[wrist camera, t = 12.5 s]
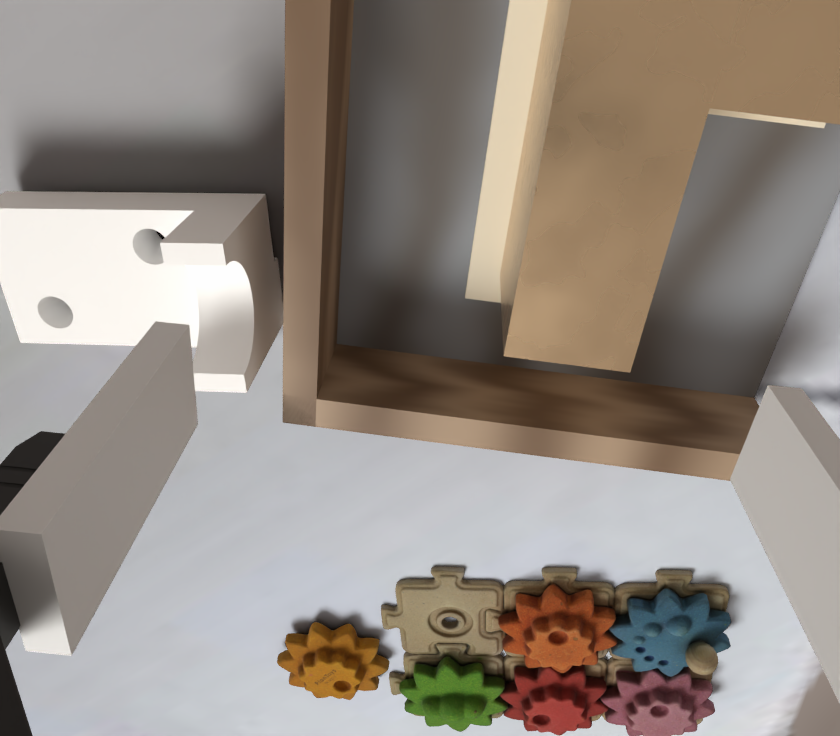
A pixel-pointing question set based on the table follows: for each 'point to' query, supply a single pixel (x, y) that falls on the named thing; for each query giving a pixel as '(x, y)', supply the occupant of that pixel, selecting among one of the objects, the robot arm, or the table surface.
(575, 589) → the gear puzzle
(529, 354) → the wooden l-shaped block
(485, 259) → the pad
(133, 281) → the bracket
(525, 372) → the arena
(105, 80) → the table surface
